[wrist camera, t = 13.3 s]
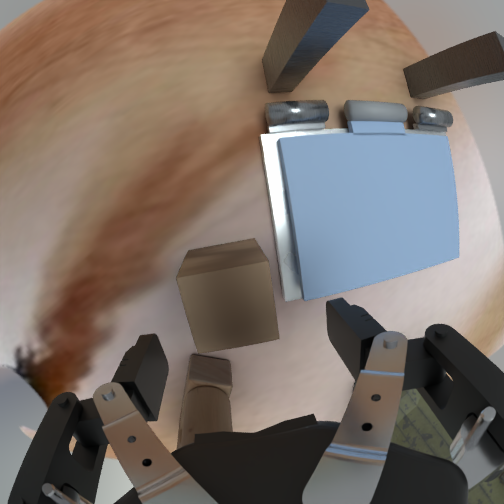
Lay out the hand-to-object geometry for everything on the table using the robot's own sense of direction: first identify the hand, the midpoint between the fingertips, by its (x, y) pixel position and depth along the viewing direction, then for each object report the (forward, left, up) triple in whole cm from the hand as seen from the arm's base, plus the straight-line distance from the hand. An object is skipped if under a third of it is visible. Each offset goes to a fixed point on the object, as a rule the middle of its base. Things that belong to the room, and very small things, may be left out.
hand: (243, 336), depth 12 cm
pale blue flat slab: (+13, +5, -7) cm, 15 cm away
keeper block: (0, 0, -9) cm, 9 cm away
